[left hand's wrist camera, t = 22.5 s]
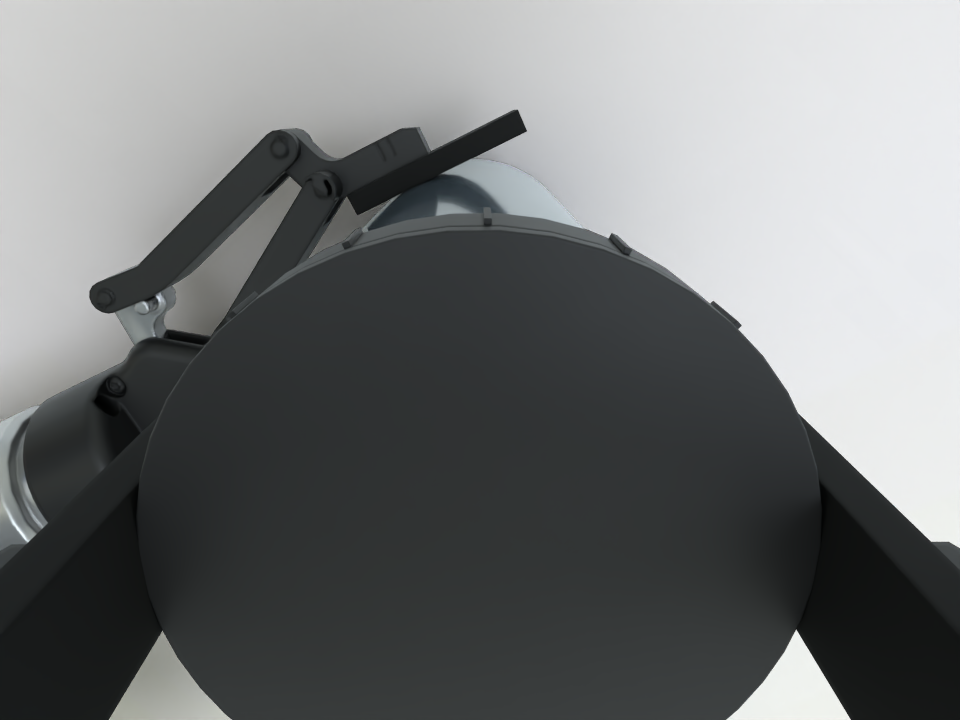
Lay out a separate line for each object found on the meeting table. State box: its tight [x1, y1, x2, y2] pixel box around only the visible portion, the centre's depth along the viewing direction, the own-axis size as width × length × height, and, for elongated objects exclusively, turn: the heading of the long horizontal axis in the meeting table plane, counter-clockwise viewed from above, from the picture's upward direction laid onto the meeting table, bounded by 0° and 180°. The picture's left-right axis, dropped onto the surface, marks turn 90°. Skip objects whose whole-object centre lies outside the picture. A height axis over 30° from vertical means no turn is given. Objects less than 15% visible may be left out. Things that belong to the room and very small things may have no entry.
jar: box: [362, 159, 584, 232], centre depth 24 cm, size 10×10×19 cm
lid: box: [136, 207, 822, 720], centre depth 11 cm, size 11×11×2 cm
